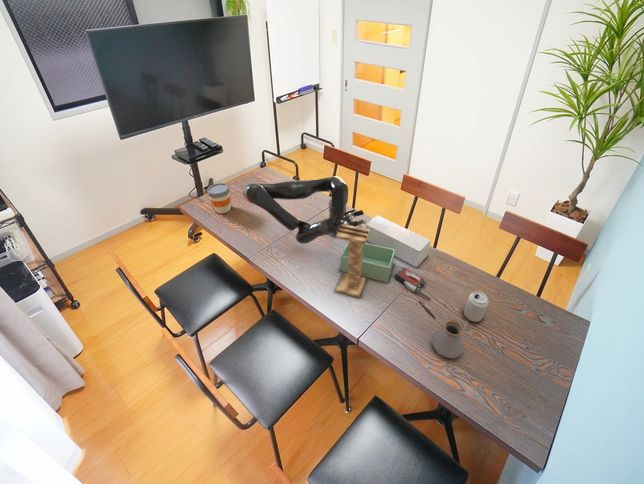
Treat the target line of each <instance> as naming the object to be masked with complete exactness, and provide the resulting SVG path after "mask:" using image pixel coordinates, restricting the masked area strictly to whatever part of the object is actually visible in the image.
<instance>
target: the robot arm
mask: <svg viewBox="0 0 644 484" xmlns="http://www.w3.org/2000/svg"><path fill="white" fill-rule="evenodd" d="M323 192H327V193H329V194H330V195H331V199H329V201H328V218H324V219H323V220H320V221H316V222H313V223H312V224H310V223H309V222H307V221H304V220H303V219H300V218H298V217H296V215H294V214H293V213H292V212H291V211H289V210H288V209H287V208H285V207H284V206H282V205H281V204H280V203H279V202H277V201H276V200H285V201H286V200H287V201H295V200H305V199H307V198H310V197H311V196H313V195H314V194H317V193H323ZM242 196H243V199H244V200H246V201H247V202H248V203H250V204H252V205H255V206H257V207H259V208H261V209H262V210H264V211H266V212H267V213H269V215H271V216H272V218H273V219H275V220H276V221H277V222H278V223H279V224H281V225H282V226H283V227H284V228H285V229H286V230H288V231H290V232H291V231H295V229H297V231H296V234H295V240H296V241H297V242H298V243H300V244H303V245H304V244H308V243H311V242H312V241H314V240H316V239H317V238H319V237H322V236H328V235H329V236H330V235H331V236H332V237H336V235H337V233H338V229H340V226H341V225H342V224H346V225H350V226H355V227H359V224H360V223H362V222H364V220H363V219H361V220H359V221H358V220H354V219H355V218H356V217H360V216H363V215H364V214H365V213H364V211H363V210H362V209H360V210H356V209H350V210H348V211H347V204H348V202H349V187H348V184H347V183H346V182H345V181H344V180H343V179H342V178H341V177H339V176H328V177H322V178H316V179H298V180H296V179H295V180H287V181H286V180H285V181H281V182H275V183H257V182H251V183H248V184H246V185H245V186H244V187H243V189H242Z"/></svg>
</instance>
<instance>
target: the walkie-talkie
mask: <svg viewBox="0 0 644 484" xmlns="http://www.w3.org/2000/svg"><path fill="white" fill-rule="evenodd" d="M394 277H395V278H396V279H397V280H399V281H400V282H402V283H403V284H404V285H405V288H406V289H407V290H409V291H411V292H412V293H417V294H419V295H421V296H422V297H424V298H426V299H427V300H430V301H431V300H432V298H431V297H430V296H429V295H427V294H425V293H423V292H422V291H420V288H421V287H422V286H424V285H425V283H426V282H425V278H424V277H422V276H420V275H418V274H417V273H415V272H414V271H411V270H410V269H408V268H406V267H402V268H401V269H400V270H399V271H398V272H397V273H395V274H394Z"/></svg>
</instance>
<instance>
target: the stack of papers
mask: <svg viewBox="0 0 644 484" xmlns="http://www.w3.org/2000/svg"><path fill="white" fill-rule="evenodd" d="M365 229H370V233H369V235H368V238H367V240H366V242H367V243H369V244H372V245H377V246H381V247H386V248H390V249H395V254H394V257H396V258H398V259H400V260H402V261H403V262H406V263H408V264H409V265H411V266H412V267H415V268H418V267H419V265H420V264H422V262H423V261H424V260H425V259H426V258H427V257H428V255H429V249H430V245H431V239H429V238H427V237H425V236H423V235H420V234H418V233H416V232H414V231H412V230H409V229H408V228H406V227H403V226H402V225H399V224H398V223H395V222H392V221H391V220H389V219H386V218H385V217H383V216H380V215H378V214H377V215H376V216H374V217H373V218H372V219H371V220H370V221H368V222H367V223H366V224H365Z"/></svg>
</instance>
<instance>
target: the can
mask: <svg viewBox="0 0 644 484" xmlns="http://www.w3.org/2000/svg"><path fill="white" fill-rule="evenodd" d="M489 304H490V301H489V298H488V295H486V293H484V292H482V291H479V290H478V291H477V290H476V291H473V292H472V293H470V294H469V296H468V299H467V301H466V304H465V306H464V310H463V315H464V317H465V318H466V319H468V320H469V321H471V322H474V323H475V322H476V323H477V322H480V321H481V320H483V317H484V315H485V313H486V310H487V308H488V306H489Z"/></svg>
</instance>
